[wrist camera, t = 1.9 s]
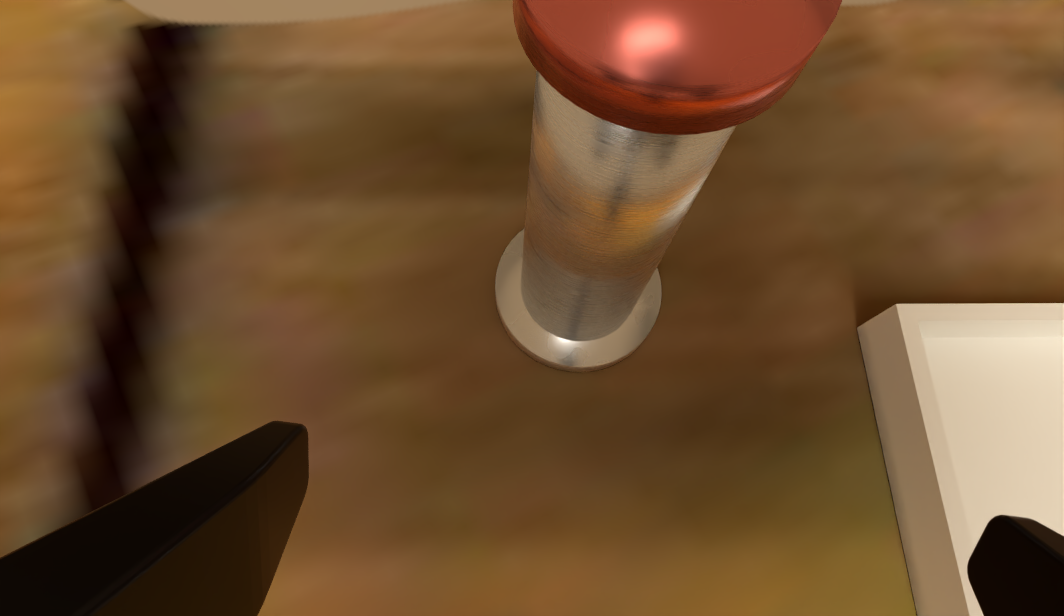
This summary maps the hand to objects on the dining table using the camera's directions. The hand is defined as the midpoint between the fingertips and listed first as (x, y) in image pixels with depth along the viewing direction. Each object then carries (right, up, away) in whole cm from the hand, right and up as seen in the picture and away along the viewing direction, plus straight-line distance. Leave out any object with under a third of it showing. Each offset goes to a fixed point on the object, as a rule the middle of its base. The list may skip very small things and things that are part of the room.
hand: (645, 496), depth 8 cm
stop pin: (0, +3, +15) cm, 16 cm away
